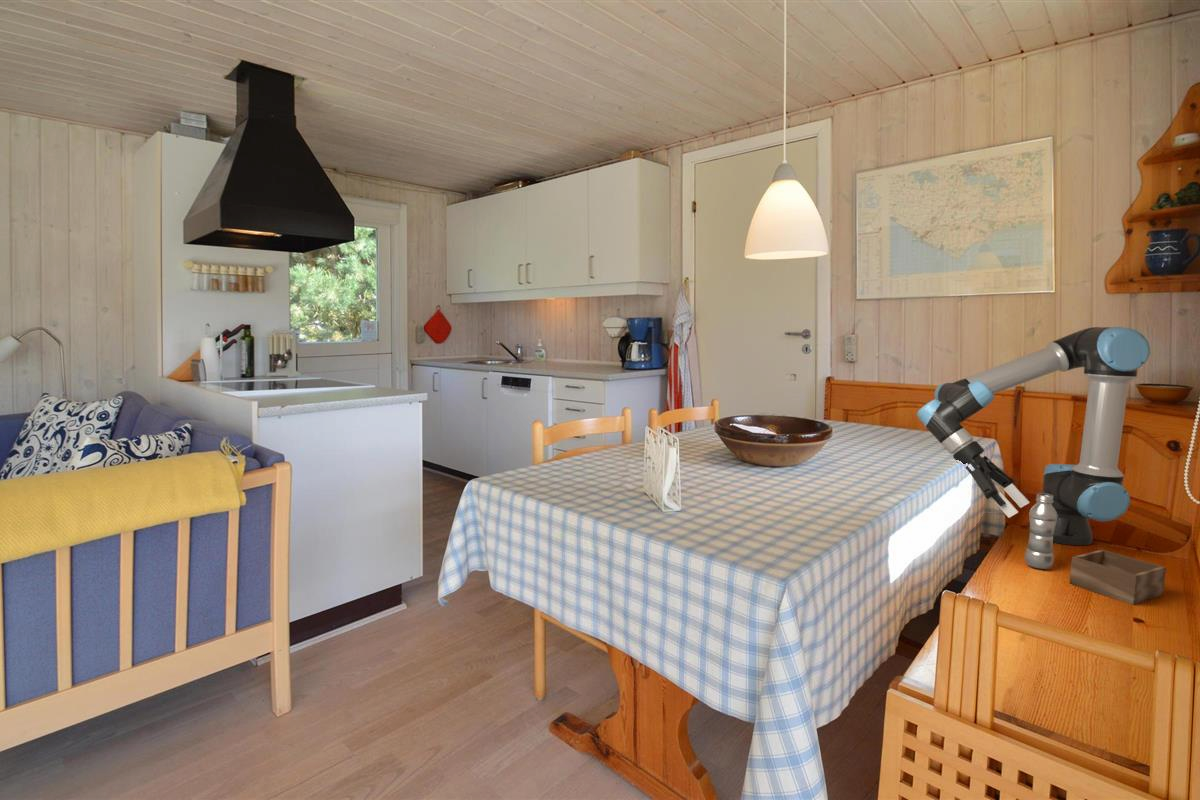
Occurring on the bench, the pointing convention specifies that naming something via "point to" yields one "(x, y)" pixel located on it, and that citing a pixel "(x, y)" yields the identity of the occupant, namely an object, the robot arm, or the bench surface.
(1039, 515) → the plastic bottle
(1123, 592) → the walnut bottle box
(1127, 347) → the robot arm
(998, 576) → the bench surface
